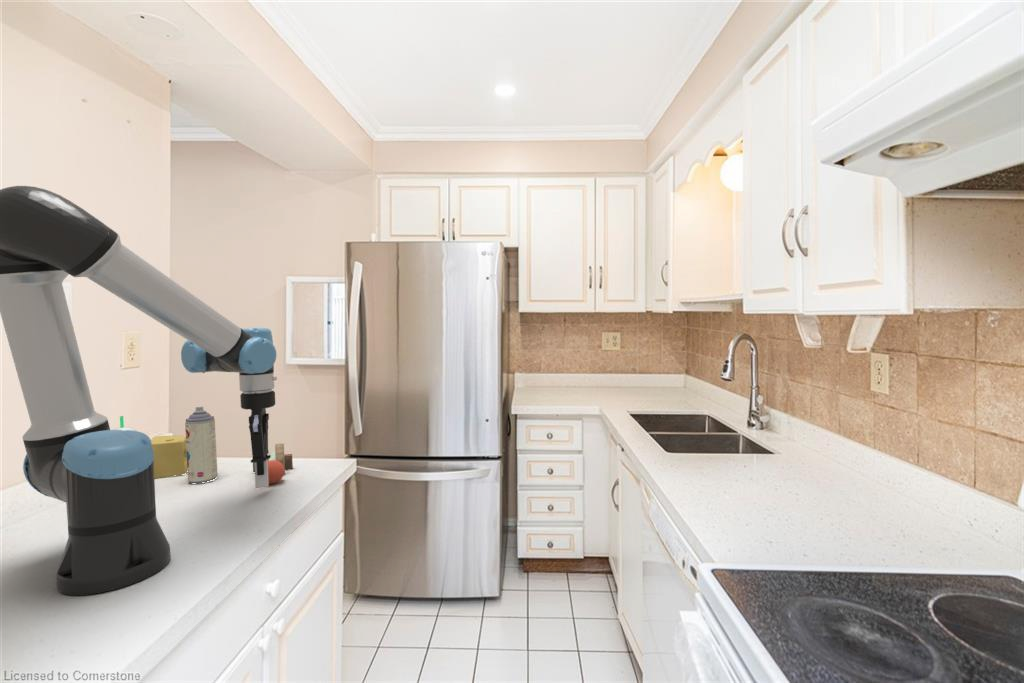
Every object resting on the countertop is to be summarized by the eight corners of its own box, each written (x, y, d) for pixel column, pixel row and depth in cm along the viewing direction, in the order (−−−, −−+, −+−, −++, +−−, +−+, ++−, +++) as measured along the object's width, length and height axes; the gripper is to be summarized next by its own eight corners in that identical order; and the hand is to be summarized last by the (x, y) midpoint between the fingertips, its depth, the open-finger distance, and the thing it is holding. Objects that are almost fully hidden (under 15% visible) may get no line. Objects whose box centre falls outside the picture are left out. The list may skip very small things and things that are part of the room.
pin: (284, 475, 136) (283, 445, 136) (275, 476, 135) (274, 445, 135) (285, 473, 138) (284, 443, 138) (276, 474, 138) (275, 444, 137)
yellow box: (196, 465, 148) (194, 432, 148) (185, 476, 138) (183, 440, 138) (155, 470, 145) (153, 436, 145) (141, 481, 135) (138, 444, 134)
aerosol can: (191, 478, 136) (187, 406, 135) (219, 474, 138) (216, 403, 137) (185, 486, 129) (181, 410, 128) (215, 482, 132) (211, 407, 131)
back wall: (292, 469, 142) (291, 455, 142) (253, 473, 139) (252, 459, 138) (292, 467, 144) (292, 453, 144) (254, 471, 141) (253, 457, 140)
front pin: (273, 472, 133) (278, 450, 140) (264, 472, 132) (269, 450, 139) (274, 478, 134) (278, 455, 141) (265, 478, 133) (269, 456, 140)
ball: (287, 464, 135) (281, 486, 132) (263, 461, 133) (256, 483, 130) (287, 459, 130) (280, 483, 127) (262, 456, 128) (255, 480, 125)
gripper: (271, 393, 115) (275, 493, 116) (277, 386, 128) (281, 477, 129) (234, 396, 113) (239, 497, 114) (245, 388, 125) (249, 480, 126)
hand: (262, 486), depth 121 cm, fingers closed
